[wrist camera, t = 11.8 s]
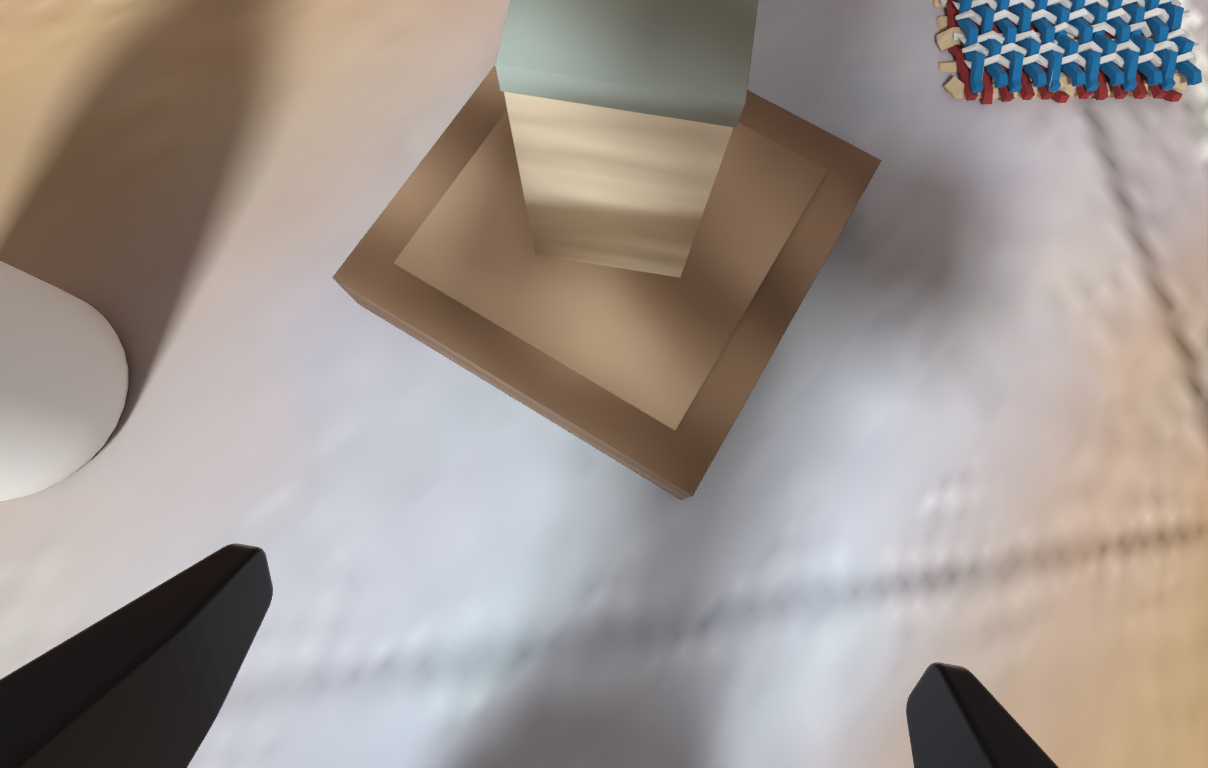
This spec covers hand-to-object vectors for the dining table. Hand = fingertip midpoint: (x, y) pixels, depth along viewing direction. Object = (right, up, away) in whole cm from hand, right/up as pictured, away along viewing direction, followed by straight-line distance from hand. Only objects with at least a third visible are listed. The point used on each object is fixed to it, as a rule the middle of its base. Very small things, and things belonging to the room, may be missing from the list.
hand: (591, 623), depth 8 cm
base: (+1, +8, +16) cm, 18 cm away
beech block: (+1, +9, +13) cm, 16 cm away
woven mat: (+19, +20, +20) cm, 34 cm away
